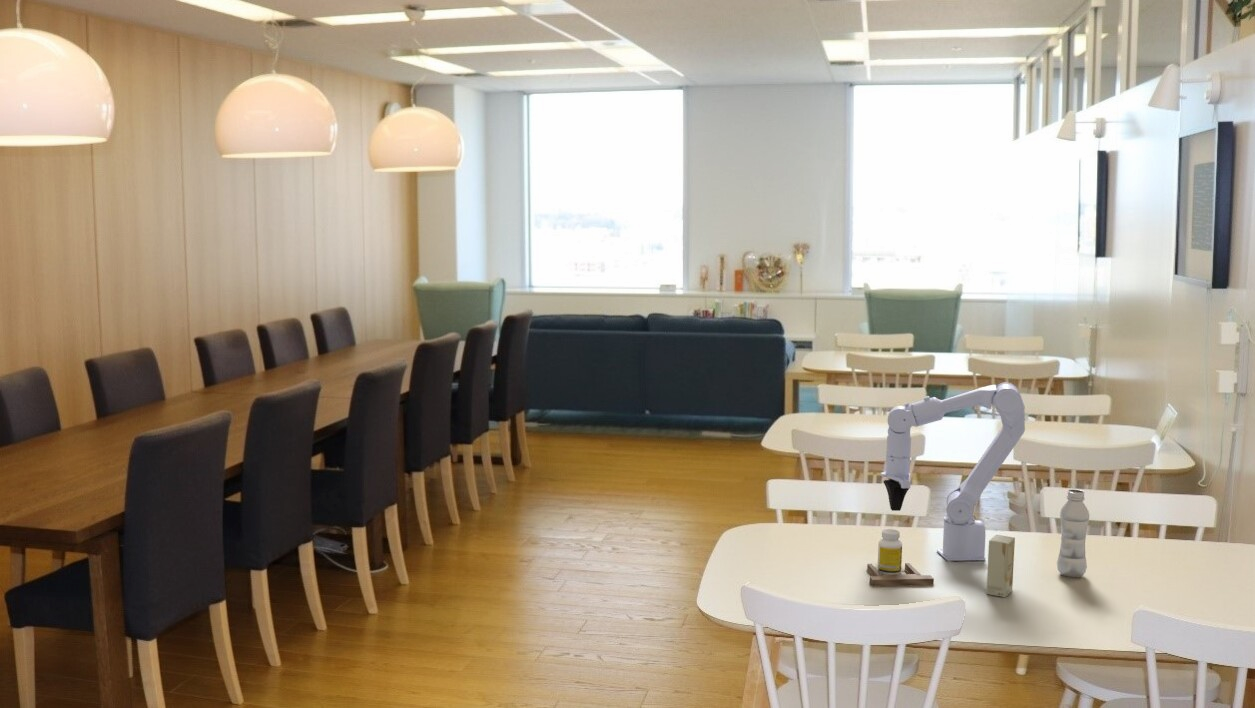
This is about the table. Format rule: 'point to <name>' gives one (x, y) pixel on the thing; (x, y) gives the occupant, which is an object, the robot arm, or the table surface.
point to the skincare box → (1000, 565)
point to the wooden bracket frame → (899, 577)
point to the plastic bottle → (1073, 535)
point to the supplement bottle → (890, 553)
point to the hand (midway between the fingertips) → (895, 509)
